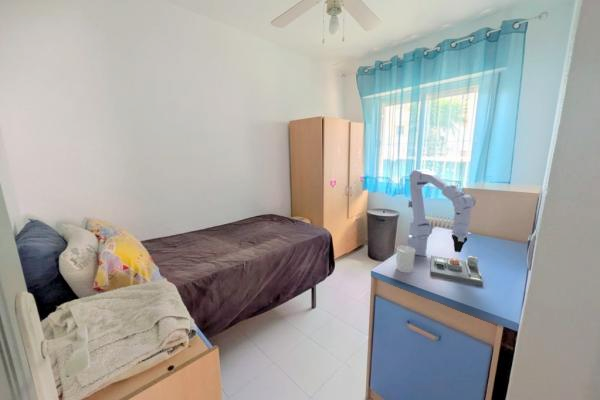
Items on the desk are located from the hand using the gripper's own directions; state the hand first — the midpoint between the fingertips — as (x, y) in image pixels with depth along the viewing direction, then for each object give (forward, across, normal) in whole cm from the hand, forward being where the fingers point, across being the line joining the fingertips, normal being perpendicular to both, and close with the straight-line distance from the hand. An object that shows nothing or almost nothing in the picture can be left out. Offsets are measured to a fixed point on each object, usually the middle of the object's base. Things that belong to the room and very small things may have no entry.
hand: (457, 251), depth 109 cm
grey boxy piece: (+7, +3, -6) cm, 10 cm away
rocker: (+6, -1, +6) cm, 8 cm away
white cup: (+10, -9, +20) cm, 24 cm away
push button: (+7, -1, 0) cm, 7 cm away
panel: (+9, -1, 0) cm, 9 cm away
